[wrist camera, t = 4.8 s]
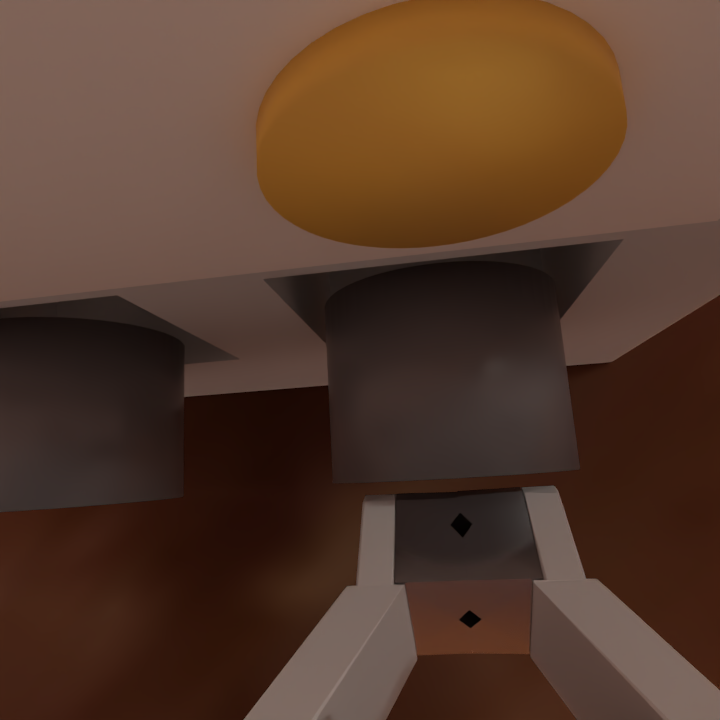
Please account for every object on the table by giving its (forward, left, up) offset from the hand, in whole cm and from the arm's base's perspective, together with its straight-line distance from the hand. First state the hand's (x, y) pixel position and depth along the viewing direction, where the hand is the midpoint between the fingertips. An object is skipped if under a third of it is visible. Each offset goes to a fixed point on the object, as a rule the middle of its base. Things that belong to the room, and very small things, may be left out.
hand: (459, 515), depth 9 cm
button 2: (+6, +5, -2) cm, 8 cm away
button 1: (+2, -1, -2) cm, 3 cm away
